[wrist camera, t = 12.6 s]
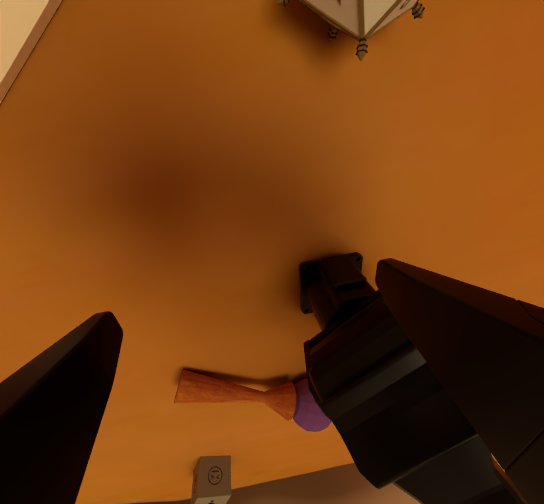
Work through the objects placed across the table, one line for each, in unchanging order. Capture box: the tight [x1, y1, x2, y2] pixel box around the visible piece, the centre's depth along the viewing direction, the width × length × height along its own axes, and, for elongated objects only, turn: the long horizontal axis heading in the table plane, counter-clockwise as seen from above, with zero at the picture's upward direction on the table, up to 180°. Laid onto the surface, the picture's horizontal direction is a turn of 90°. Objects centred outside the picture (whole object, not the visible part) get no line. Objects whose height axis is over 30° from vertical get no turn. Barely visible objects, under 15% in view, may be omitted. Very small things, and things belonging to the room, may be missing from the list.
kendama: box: [174, 370, 331, 432], centre depth 30 cm, size 6×6×20 cm
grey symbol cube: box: [191, 456, 231, 504], centre depth 39 cm, size 5×5×5 cm
